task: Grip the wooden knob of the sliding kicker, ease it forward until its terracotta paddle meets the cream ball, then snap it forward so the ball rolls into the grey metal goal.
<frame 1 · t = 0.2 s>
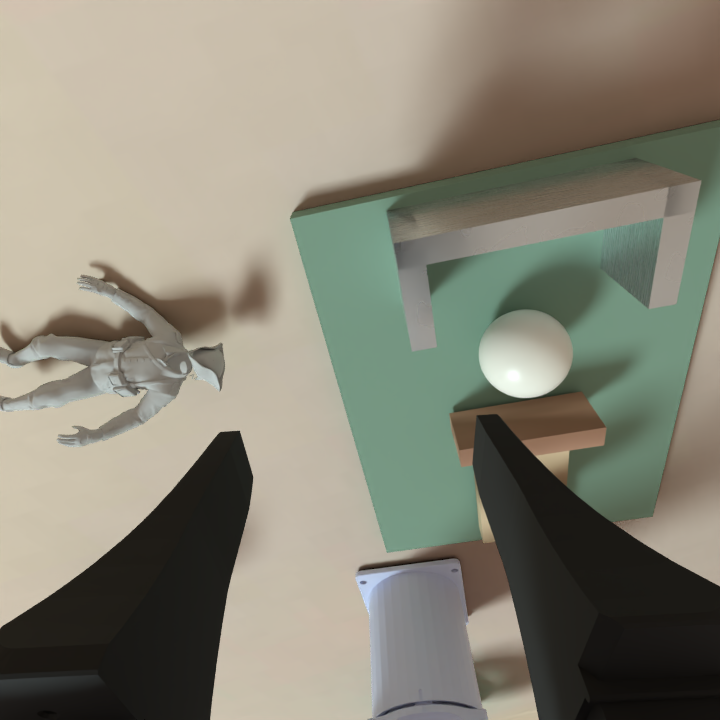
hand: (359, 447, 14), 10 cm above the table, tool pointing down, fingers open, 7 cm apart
kicker: (536, 519, 24), point 5 cm above the table, slide at 0.0 cm
goal: (502, 231, 20), resting on pitch
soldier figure: (117, 344, 24), on the table
ball: (524, 353, 20), point 3 cm above the table, touching pitch
pitch: (507, 390, 25), on the table
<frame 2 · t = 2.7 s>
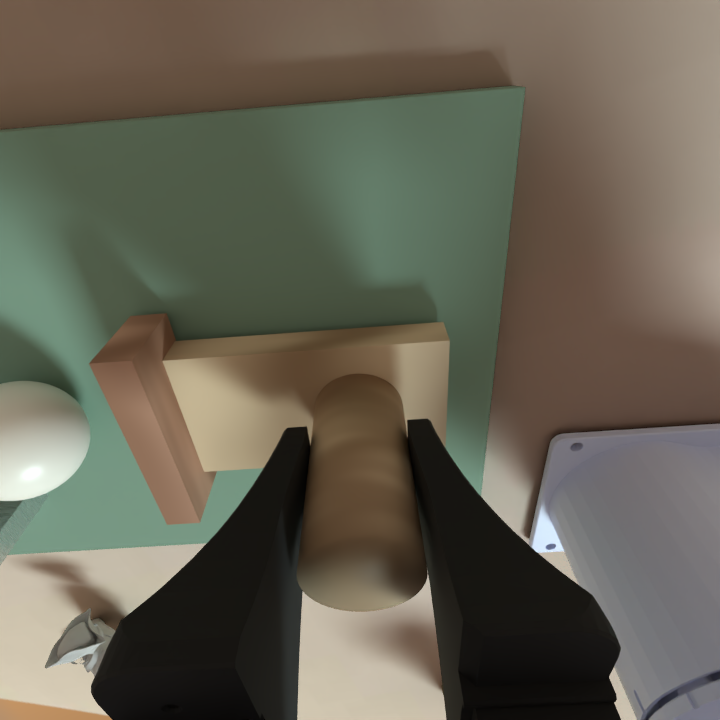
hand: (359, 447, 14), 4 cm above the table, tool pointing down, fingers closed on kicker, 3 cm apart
kicker: (289, 464, 14), point 5 cm above the table, slide at 0.0 cm, touching gripper
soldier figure: (142, 635, 29), on the table
ball: (22, 439, 15), point 3 cm above the table, touching pitch
pitch: (180, 379, 18), on the table
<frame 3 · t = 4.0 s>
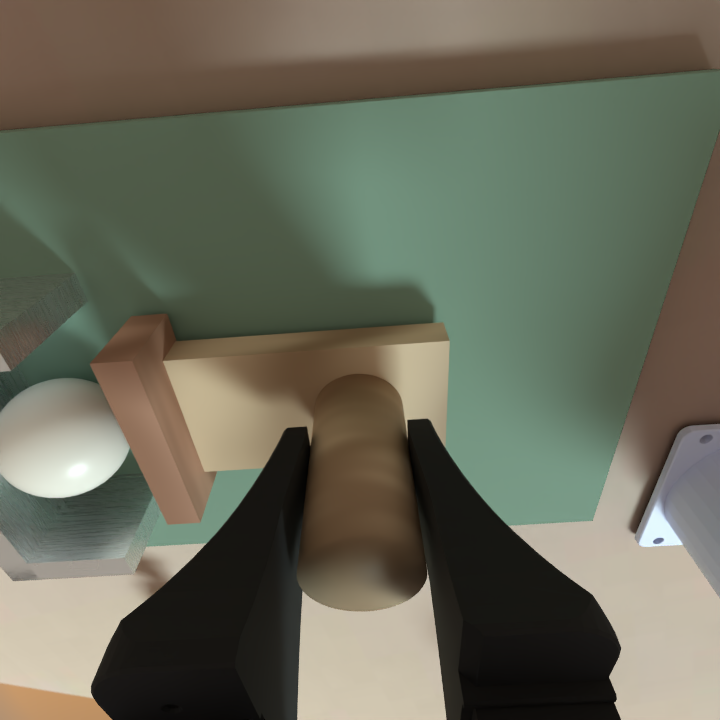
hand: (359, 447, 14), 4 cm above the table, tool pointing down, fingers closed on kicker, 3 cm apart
kicker: (289, 464, 14), point 5 cm above the table, slide at 5.4 cm, touching gripper
goal: (85, 385, 18), resting on pitch
ball: (66, 436, 15), point 3 cm above the table, tilted 108°, touching pitch
pitch: (317, 369, 18), on the table
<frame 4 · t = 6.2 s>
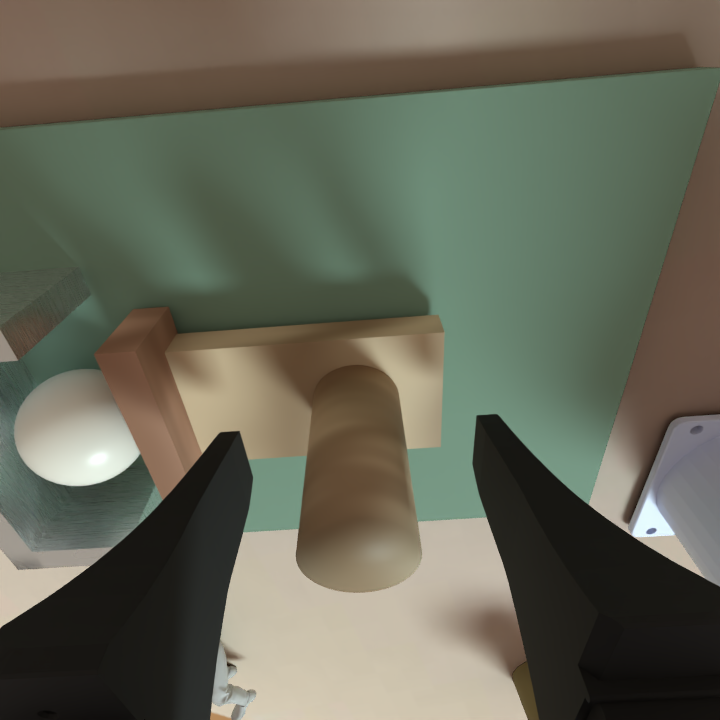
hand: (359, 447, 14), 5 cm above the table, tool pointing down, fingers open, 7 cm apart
kicker: (288, 453, 14), point 5 cm above the table, slide at 5.4 cm
goal: (88, 378, 18), resting on pitch
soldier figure: (202, 626, 30), on the table
cork: (552, 669, 34), on the table
ball: (86, 426, 16), point 3 cm above the table, tilted 92°, touching pitch
pitch: (316, 362, 18), on the table
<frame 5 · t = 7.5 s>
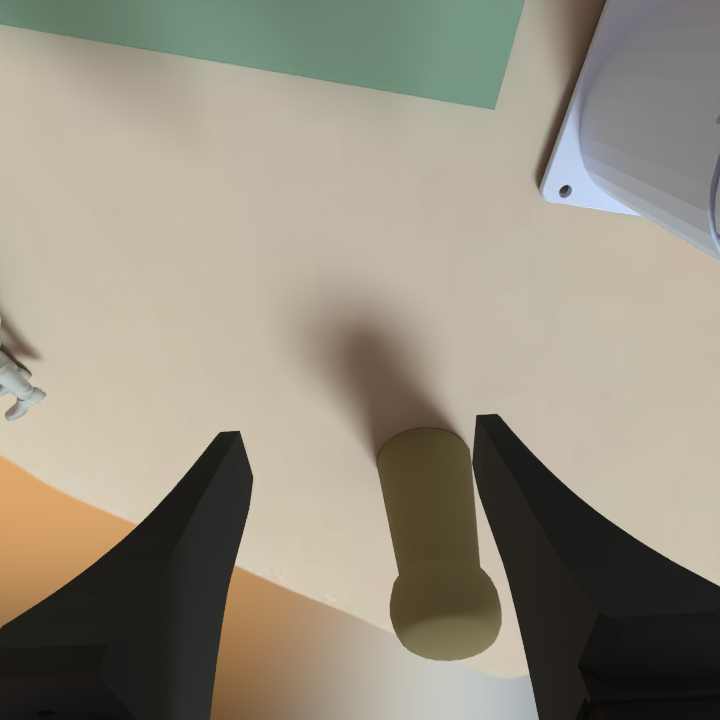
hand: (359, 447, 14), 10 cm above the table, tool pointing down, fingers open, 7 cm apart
cork: (423, 460, 29), on the table
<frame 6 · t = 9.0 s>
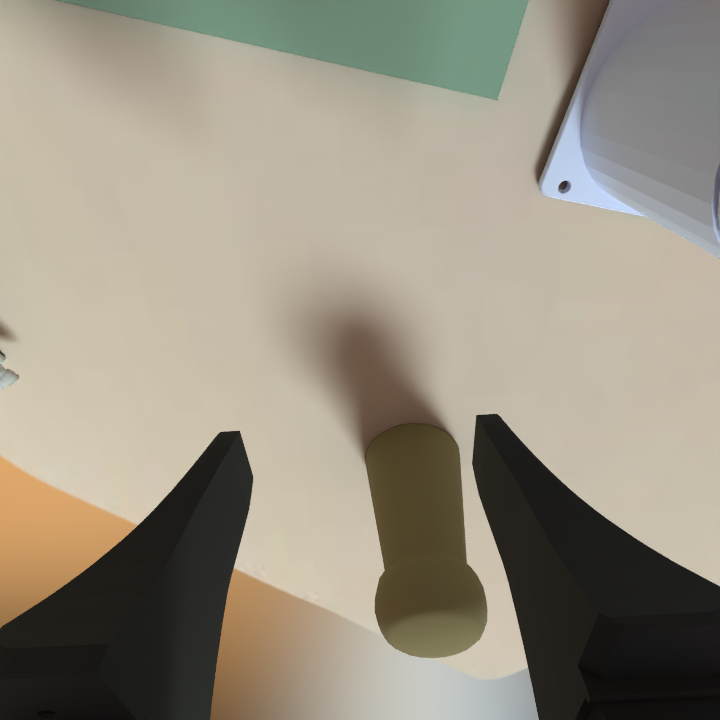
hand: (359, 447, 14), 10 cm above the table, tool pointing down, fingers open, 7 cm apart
cork: (412, 456, 29), on the table
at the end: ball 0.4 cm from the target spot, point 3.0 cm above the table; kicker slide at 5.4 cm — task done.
